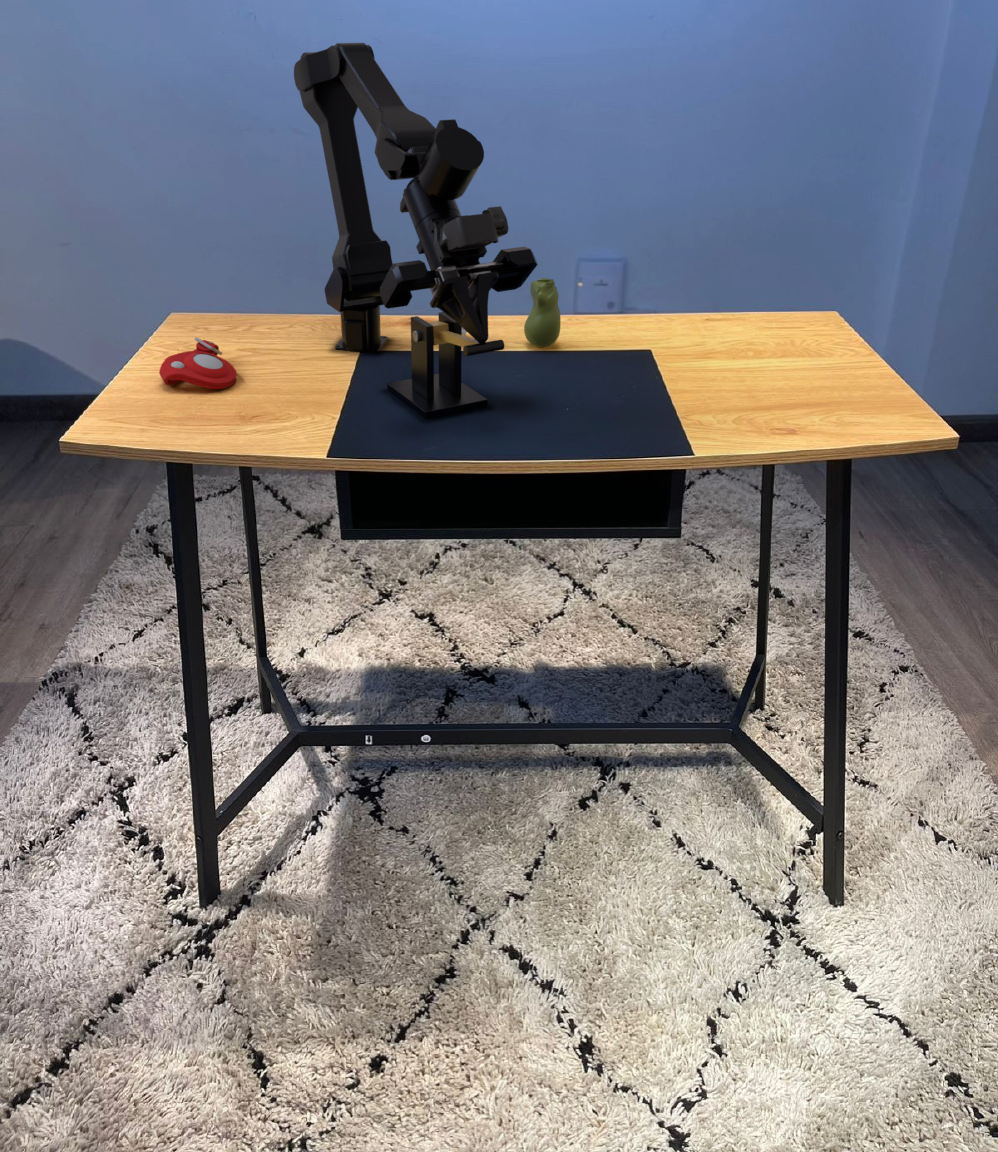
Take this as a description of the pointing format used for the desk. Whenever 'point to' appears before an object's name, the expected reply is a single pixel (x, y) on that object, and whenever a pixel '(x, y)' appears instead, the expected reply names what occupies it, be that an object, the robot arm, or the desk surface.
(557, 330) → the green vase
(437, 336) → the latch lever
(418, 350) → the latch bracket
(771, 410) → the desk surface
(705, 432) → the desk surface
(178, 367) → the tracker holder
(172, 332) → the desk surface
